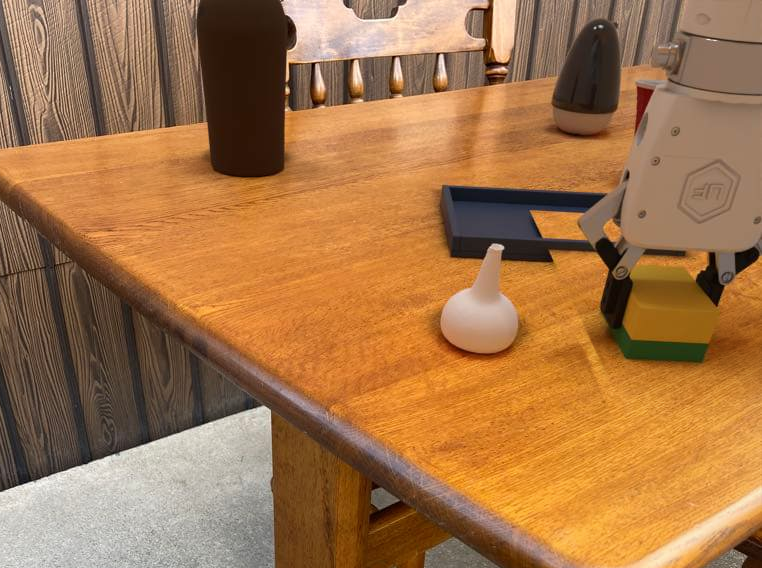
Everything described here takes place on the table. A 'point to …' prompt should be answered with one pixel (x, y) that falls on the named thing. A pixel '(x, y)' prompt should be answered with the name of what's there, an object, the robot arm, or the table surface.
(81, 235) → the table surface
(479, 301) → the garlic bulb
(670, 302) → the sponge
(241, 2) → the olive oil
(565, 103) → the grey rounded egg shape
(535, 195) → the tray
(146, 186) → the table surface
